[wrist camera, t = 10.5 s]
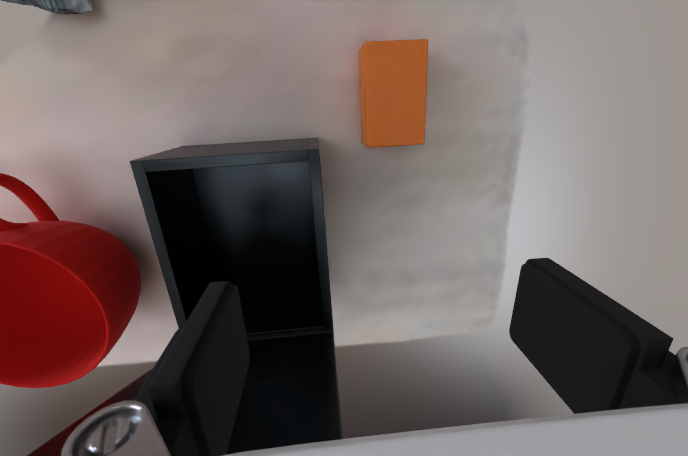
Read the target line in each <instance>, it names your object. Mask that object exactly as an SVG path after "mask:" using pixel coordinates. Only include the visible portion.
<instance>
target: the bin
mask: <svg viewBox="0 0 688 456" xmlns="http://www.w3.org/2000/svg"><path fill="white" fill-rule="evenodd" d="M130 164H131V167H132V170H133V174H134V177H135V181H136V184H137V187H138V191H139V194H140V198H141V201H142V204H143V208H144V211H145V215H146V218H147V222H148V225H149V228H150V232H151V235H152V239H153V242H154V245H155V249H156V252H157V256H158V259H159V262H160V266H161V269H162V273H163V276H164V279H165V283H166V286H167V290H168V293H169V297H170V300H171V303H172V307H173V310H174V314H175V317H176V320H177V324H178V327H179V328H181V327H184V325H185V323H186V322H187V320H188V318H189V317H190V315H191V313H192V312H193V310H194V308H195V307H196V305H197V303H198V302H199V300H200V298H201V297H202V295H203V293H204V292H205V290H206V288H207V287H208V285H209V284H210V282H222V281H230V282H231V284H232V285H237V287H238V291H239V297H240V302H241V308H242V313H243V319H244V324H245V330H246V336H247V341H250V340H260V339H270V338H280V337H290V336H300V335H310V334H320V333H330V332H334V331H333V319H332V306H331V293H330V281H329V268H328V256H327V243H326V230H325V218H324V205H323V193H322V180H321V167H320V155H319V144H318V138H307V139H291V140H275V141H259V142H243V143H227V144H211V145H194V146H181V147H178V148H174V149H171V150H167V151H164V152H160V153H157V154H153V155H150V156H146V157H143V158H139V159H136V160H132V161H130Z"/></svg>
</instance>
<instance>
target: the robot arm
mask: <svg viewBox="0 0 688 456" xmlns="http://www.w3.org/2000/svg"><path fill="white" fill-rule="evenodd" d="M509 331H510V336H511V339H512V340H513V342H514V343H515V344H516V345H517V347H518V348H519V349H520V350H521V351H522V352H523V354H524V355H525V356H526V357H527V358H528V360H529V361H530V362H531V363H532V364H533V365H534V367H535V368H536V369H537V370H538V371H539V372H540V374H541V375H542V376H543V377H544V378H545V380H546V381H547V382H548V383H549V384H550V386H551V387H552V388H553V389H554V390H555V391H556V393H557V394H558V395H559V396H560V397H561V398H562V400H563V401H564V402H565V403H566V404H567V406H568V407H569V408H570V409H571V410H572V411H573V413H574V414H568V415H558V416H549V417H539V418H529V419H520V420H511V421H503V422H493V423H483V424H474V425H465V426H456V427H446V428H437V429H428V430H420V431H411V432H401V433H393V434H384V435H375V436H367V437H358V438H350V439H340V440H332V441H323V442H314V443H306V444H299V445H291V446H284V447H276V448H268V449H261V450H253V451H246V452H239V453H233V454H227V455H226V453H227V450H228V446H229V442H230V438H231V434H232V430H233V426H234V422H235V418H236V414H237V410H238V406H239V403H240V399H241V395H242V391H243V387H244V383H245V379H246V375H247V371H248V367H249V362H250V353H249V347H248V341H247V336H246V330H245V324H244V319H243V313H242V308H241V302H240V297H239V291H238V287H237V285H232V284H231V282H230V281H222V282H210V284H209V285H208V287H207V288H206V290H205V292H204V293H203V295H202V297H201V298H200V300H199V302H198V303H197V305H196V307H195V308H194V310H193V312H192V313H191V315H190V317H189V318H188V320H187V322H186V323H185V325H184V327H181V328H179V329H178V330H177V331H176V333H175V334H174V336H173V337H172V339H171V341H170V342H169V344H168V345H167V347H166V349H165V350H164V352H163V354H162V355H161V357H160V358H159V360H158V362H157V363H156V365H155V366H154V368H153V370H152V371H151V373H150V375H149V376H148V378H147V379H146V381H145V383H144V384H143V386H142V387H141V389H140V391H139V392H138V394H137V396H136V397H135V399H134V400H129V401H122V402H118V403H114V404H111V405H109V406H107V407H105V408H102V409H100V410H99V411H97V412H96V413H94V414H92V415H91V416H89V417H88V418H87V419H86V420H84V421H83V422H82V423H81V424H80V425H79V426H77V427H76V429H75V430H74V431H73V432H72V433H71V435H70V436H69V437H68V438H67V440H66V442H65V444H64V446H63V448H62V453H61V456H688V347H684V348H681V349H680V350H679V351H678V352H677V354H676V355H674V354H673V353H671V352H670V351H668V350H669V347H670V345H671V343H672V341H673V338H672V337H670V336H668V335H667V334H665V333H664V332H662V331H661V330H659V329H658V328H656V327H655V326H653V325H652V324H650V323H648V322H647V321H645V320H644V319H642V318H640V317H639V316H638V315H636V314H634V313H633V312H631V311H630V310H628V309H627V308H625V307H624V306H622V305H621V304H619V303H617V302H616V301H614V300H613V299H611V298H610V297H608V296H607V295H605V294H603V293H602V292H600V291H599V290H597V289H596V288H594V287H593V286H591V285H589V284H588V283H586V282H585V281H583V280H582V279H580V278H579V277H577V276H576V275H574V274H573V273H571V272H569V271H568V270H566V269H564V268H563V267H562V266H560V265H559V264H557V263H555V262H554V261H552V260H551V259H549V258H538V259H529V260H527V262H526V263H525V264H524V265H522V267H521V271H520V277H519V282H518V287H517V292H516V298H515V303H514V308H513V314H512V319H511V324H510V330H509Z"/></svg>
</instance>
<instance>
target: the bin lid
mask: <svg viewBox="0 0 688 456" xmlns="http://www.w3.org/2000/svg"><path fill="white" fill-rule="evenodd" d="M248 347H249V353H250V362H249V367H248V371H247V375H246V379H245V383H244V387H243V391H242V395H241V399H240V403H239V406H238V410H237V414H236V418H235V422H234V426H233V430H232V434H231V438H230V442H229V446H228V450H227V453H226V455H227V454H233V453H239V452H246V451H253V450H261V449H268V448H276V447H284V446H291V445H299V444H306V443H314V442H323V441H332V440H340V439H343V435H342V423H341V412H340V400H339V390H338V377H337V366H336V355H335V343H334V333H333V332H330V333H320V334H310V335H300V336H290V337H280V338H270V339H260V340H250V341H248ZM152 370H153V368H152V369H151V370H149V371H148V372H146V373H145V374H143V375H142V376H141V377H139V378H138V379H136V380H135V381H134V382H132V383H130V384H129V385H128V386H126V387H125V388H123V389H122V390H120V391H119V392H118V393H116V394H115V395H113V396H112V397H111V398H109V399H108V400H106V401H105V402H103V403H102V404H101V405H99V406H98V407H96V408H95V409H93V410H92V411H90V412H89V413H88V414H86V415H85V416H83V417H82V418H80V419H79V420H78V421H76V422H75V423H73V424H72V425H70V426H69V427H68V428H66V429H65V430H64V431H62V432H60V433H59V434H58V435H56V436H55V437H54V438H52V439H50V440H49V441H48V442H46V443H45V444H43V445H42V446H40V447H39V448H38V449H36V450H35V451H33V452H32V453H30V454H29V455H27V456H61V453H62V448H63V446H64V444H65V442H66V440H67V438H68V437H69V436H70V435H71V433H72V432H73V431H74V430H75V429H76V427H77V426H79V425H80V424H81V423H82V422H83V421H84V420H86V419H87V418H88V417H89V416H91V415H92V414H94V413H96V412H97V411H99V410H100V409H102V408H105V407H107V406H109V405H111V404H114V403H118V402H122V401H129V400H134V399H135V397H136V396H137V394H138V392H139V391H140V389H141V387H142V386H143V384H144V383H145V381H146V379H147V378H148V376H149V375H150V373H151V371H152Z"/></svg>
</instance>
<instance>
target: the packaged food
mask: <svg viewBox="0 0 688 456" xmlns="http://www.w3.org/2000/svg"><path fill="white" fill-rule="evenodd" d="M2 1H7V2H11V3H18V4H22V5H33V6H35V7H39V8H41V9H44V10H47V11H49V12H53V13H58V14H81V13H85V12H90V11H92V10H93V6H92V3H91V1H90V0H2Z"/></svg>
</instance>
